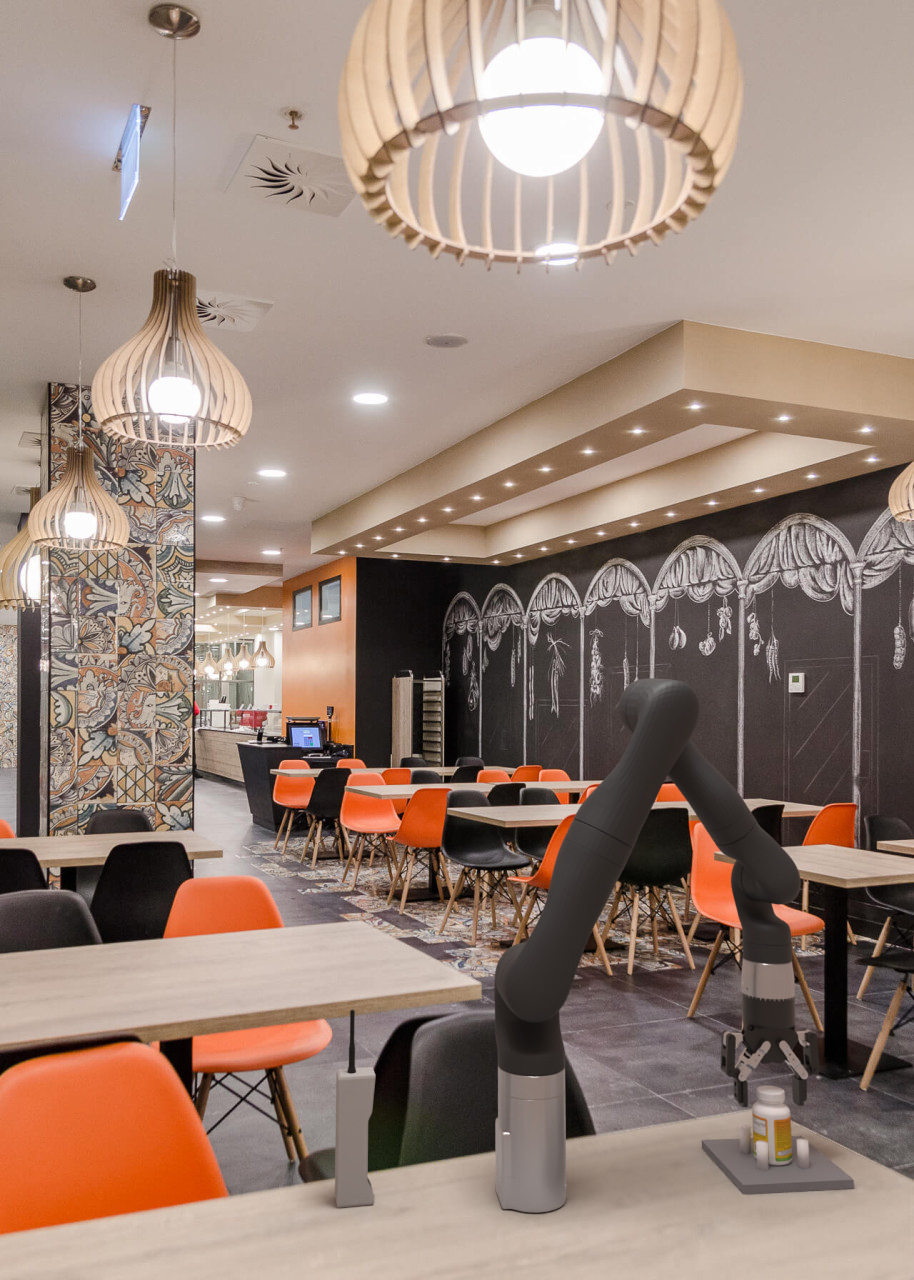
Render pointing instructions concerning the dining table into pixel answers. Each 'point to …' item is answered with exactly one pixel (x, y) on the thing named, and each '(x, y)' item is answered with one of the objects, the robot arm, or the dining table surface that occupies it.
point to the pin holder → (775, 1166)
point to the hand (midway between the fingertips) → (770, 1104)
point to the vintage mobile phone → (353, 1130)
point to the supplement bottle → (772, 1124)
